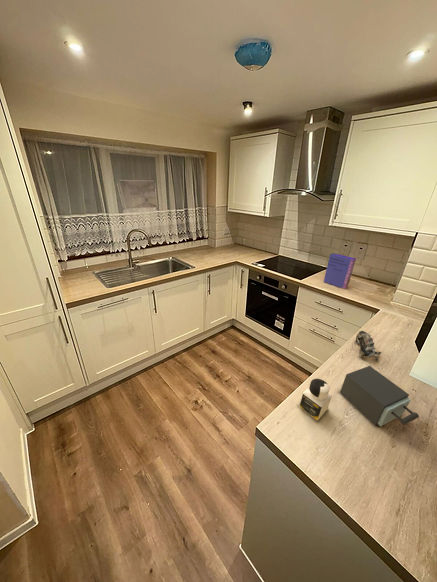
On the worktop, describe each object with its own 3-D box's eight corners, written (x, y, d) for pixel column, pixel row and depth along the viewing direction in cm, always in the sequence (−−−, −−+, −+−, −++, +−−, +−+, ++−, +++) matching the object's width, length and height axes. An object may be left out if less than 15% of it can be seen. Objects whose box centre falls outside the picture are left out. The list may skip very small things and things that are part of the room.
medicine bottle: (298, 406, 85) (305, 382, 79) (309, 396, 89) (316, 372, 84) (317, 421, 80) (325, 396, 74) (327, 409, 84) (335, 385, 79)
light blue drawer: (415, 426, 78) (425, 410, 75) (393, 438, 74) (402, 422, 71) (367, 386, 93) (373, 371, 90) (346, 395, 89) (352, 379, 86)
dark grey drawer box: (398, 413, 83) (409, 394, 79) (374, 425, 79) (384, 406, 75) (362, 383, 95) (369, 365, 91) (339, 392, 91) (346, 374, 87)
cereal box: (347, 287, 184) (356, 258, 174) (345, 289, 181) (353, 259, 171) (325, 280, 196) (332, 252, 185) (323, 282, 193) (330, 253, 182)
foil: (348, 349, 110) (360, 323, 115) (347, 358, 118) (359, 334, 123) (376, 360, 103) (388, 333, 108) (374, 369, 110) (385, 343, 115)
